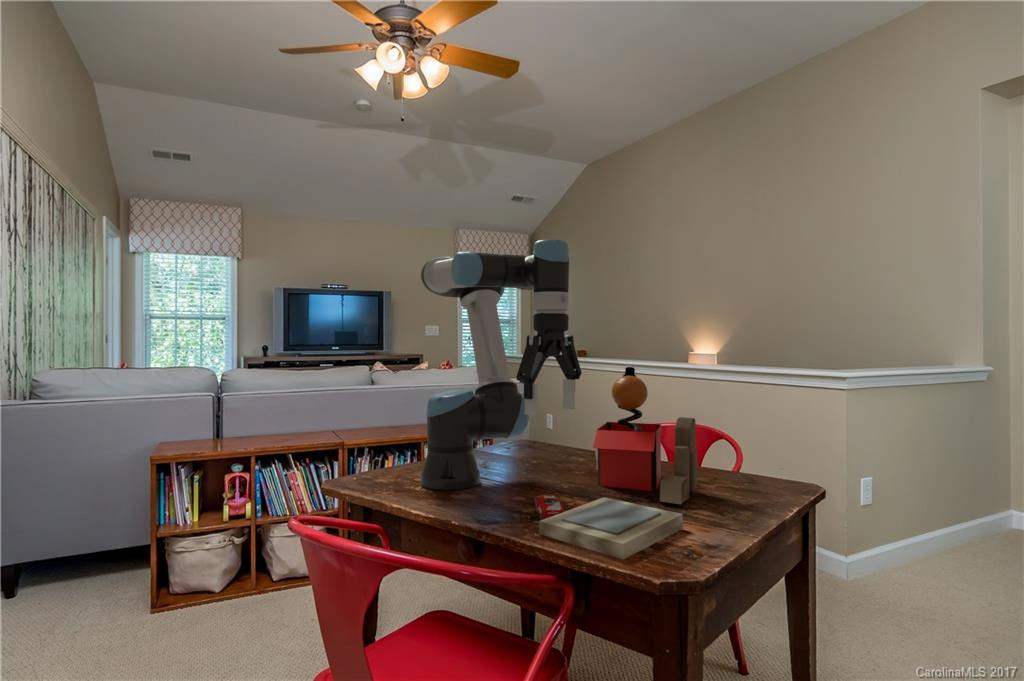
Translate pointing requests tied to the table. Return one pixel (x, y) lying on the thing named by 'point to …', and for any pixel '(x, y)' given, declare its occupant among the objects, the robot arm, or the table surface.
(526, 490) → the table surface
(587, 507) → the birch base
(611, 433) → the jack-in-the-box
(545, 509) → the race car
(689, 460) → the wooden block set
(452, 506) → the table surface
